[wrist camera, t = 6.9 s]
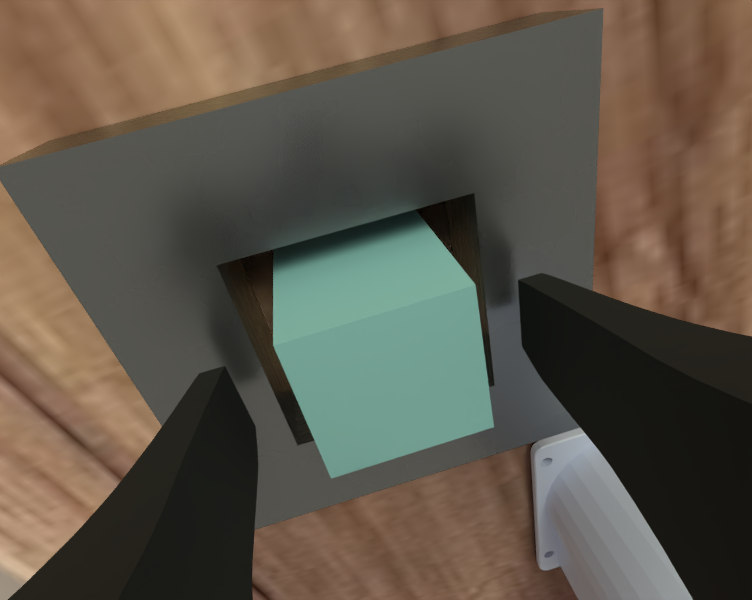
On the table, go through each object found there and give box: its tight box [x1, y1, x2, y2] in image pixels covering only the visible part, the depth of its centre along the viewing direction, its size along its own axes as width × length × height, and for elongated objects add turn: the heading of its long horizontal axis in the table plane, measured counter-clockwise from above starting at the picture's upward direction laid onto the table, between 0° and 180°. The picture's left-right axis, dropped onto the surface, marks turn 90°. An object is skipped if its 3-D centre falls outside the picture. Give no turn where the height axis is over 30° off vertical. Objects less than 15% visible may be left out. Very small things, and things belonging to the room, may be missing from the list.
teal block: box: [273, 210, 494, 478], centre depth 12 cm, size 4×4×5 cm
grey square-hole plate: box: [0, 8, 603, 529], centre depth 13 cm, size 12×12×2 cm
